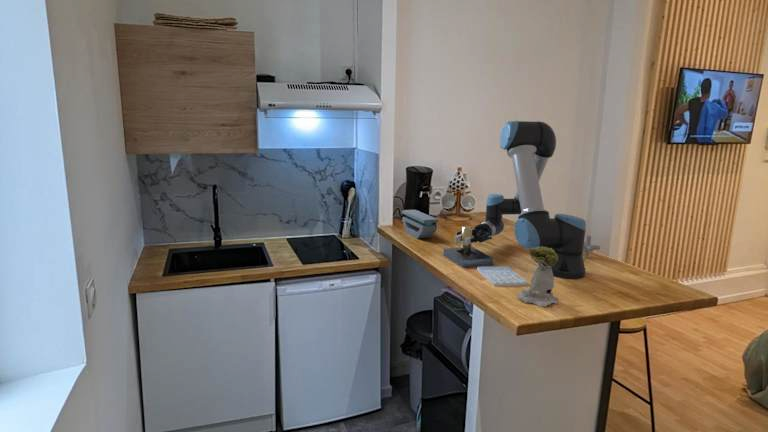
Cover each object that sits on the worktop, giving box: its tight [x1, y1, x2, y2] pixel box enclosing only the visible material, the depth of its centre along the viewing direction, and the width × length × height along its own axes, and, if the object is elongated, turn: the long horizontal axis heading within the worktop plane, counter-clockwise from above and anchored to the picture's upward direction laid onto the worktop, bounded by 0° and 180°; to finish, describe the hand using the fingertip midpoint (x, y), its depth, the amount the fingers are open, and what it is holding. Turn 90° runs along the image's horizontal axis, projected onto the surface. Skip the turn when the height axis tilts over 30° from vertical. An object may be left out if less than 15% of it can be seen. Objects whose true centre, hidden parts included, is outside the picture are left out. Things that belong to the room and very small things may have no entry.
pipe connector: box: [583, 235, 601, 259], centre depth 214 cm, size 10×10×10 cm
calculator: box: [476, 265, 529, 287], centre depth 186 cm, size 13×20×2 cm, turn 8°
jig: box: [443, 246, 495, 268], centre depth 206 cm, size 18×14×3 cm
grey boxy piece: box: [401, 209, 439, 240], centre depth 245 cm, size 25×8×11 cm, turn 23°
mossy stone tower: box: [517, 247, 559, 307], centre depth 162 cm, size 12×13×18 cm
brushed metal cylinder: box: [460, 225, 474, 254], centre depth 206 cm, size 4×4×12 cm
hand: (460, 240), depth 202 cm, fingers closed on brushed metal cylinder, 4 cm apart
